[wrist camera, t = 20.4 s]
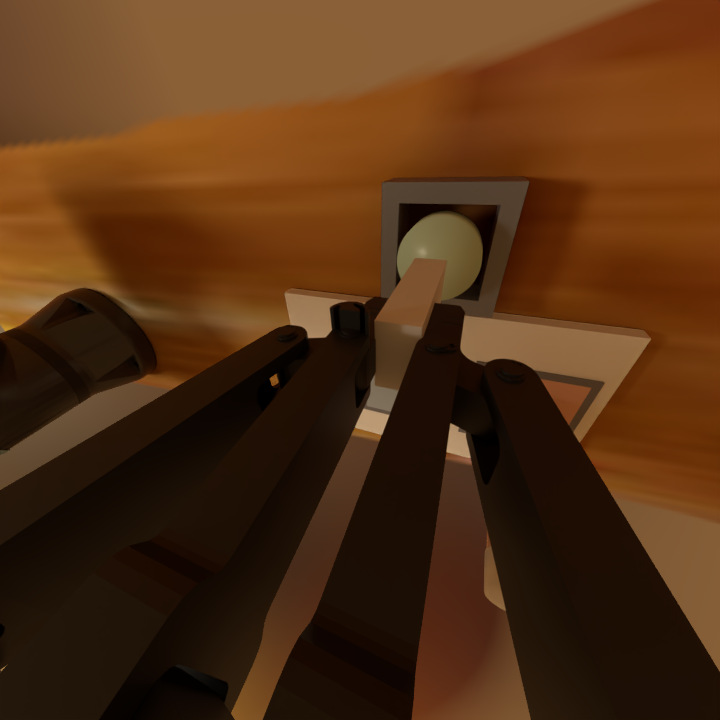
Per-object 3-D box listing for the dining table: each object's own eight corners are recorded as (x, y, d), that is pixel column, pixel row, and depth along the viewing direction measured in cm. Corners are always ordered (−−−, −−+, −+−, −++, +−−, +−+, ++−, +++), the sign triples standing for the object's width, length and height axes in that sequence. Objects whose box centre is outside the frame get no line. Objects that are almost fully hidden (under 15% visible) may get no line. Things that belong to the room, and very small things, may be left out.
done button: (402, 285, 21) (395, 296, 19) (406, 209, 18) (398, 215, 16) (473, 292, 19) (472, 305, 18) (491, 211, 16) (491, 218, 15)
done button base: (390, 289, 24) (380, 304, 22) (394, 177, 19) (381, 182, 17) (491, 299, 22) (491, 317, 20) (524, 176, 17) (529, 181, 15)
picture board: (313, 409, 38) (308, 416, 37) (290, 288, 28) (282, 293, 27) (551, 470, 30) (554, 482, 28) (643, 329, 19) (652, 340, 18)
